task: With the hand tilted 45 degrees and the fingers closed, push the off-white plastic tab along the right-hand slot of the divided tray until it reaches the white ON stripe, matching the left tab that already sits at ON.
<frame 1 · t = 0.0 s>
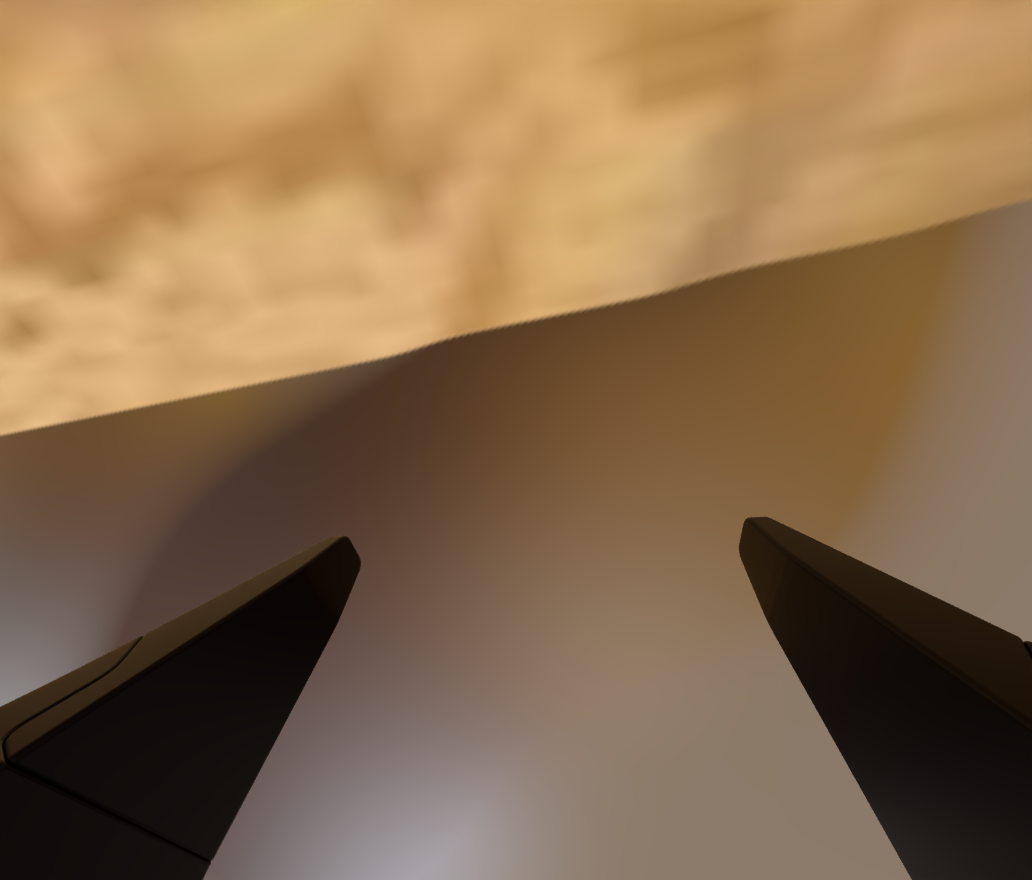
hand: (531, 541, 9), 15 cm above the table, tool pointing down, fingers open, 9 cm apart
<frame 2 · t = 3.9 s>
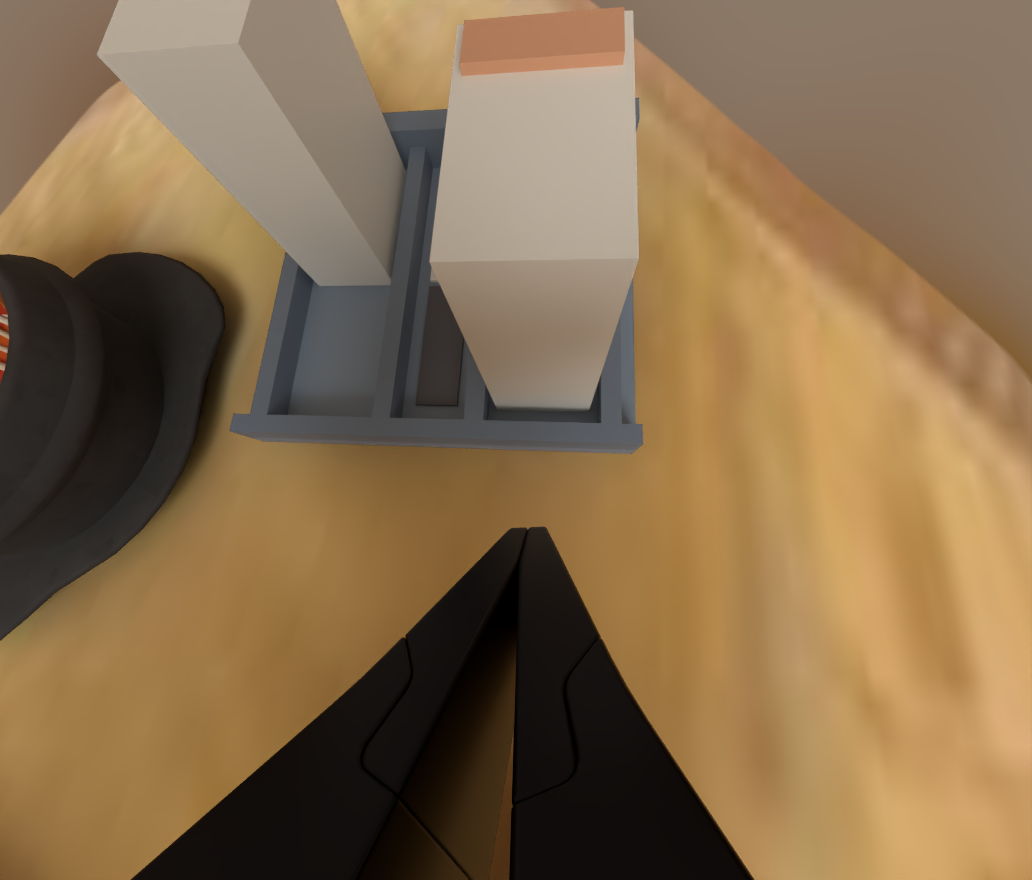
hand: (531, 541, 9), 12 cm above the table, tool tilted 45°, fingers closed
tab 1: (542, 274, 15), point 7 cm above the table, slide at 0.0 cm
tab 2: (305, 136, 18), point 7 cm above the table, slide at 8.0 cm
divided tray: (454, 291, 24), on the table
casserole: (96, 436, 24), on the table
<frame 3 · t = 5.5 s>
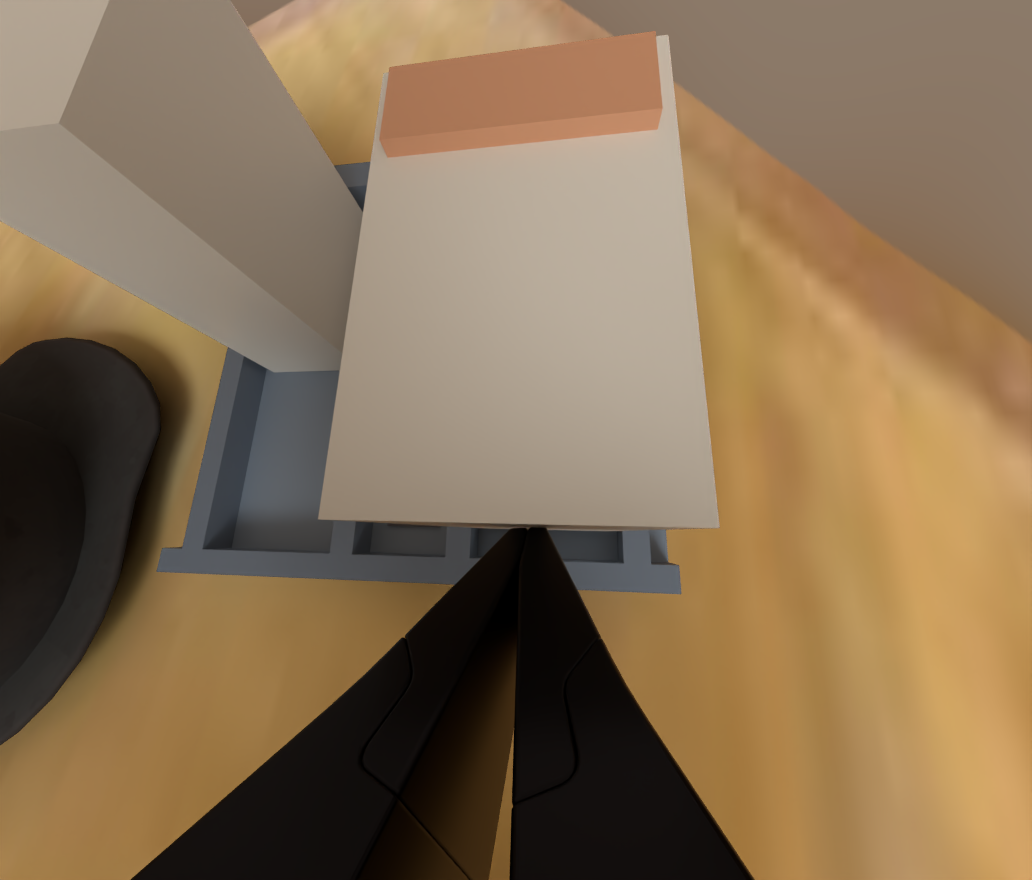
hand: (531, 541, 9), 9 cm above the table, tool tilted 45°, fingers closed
tab 1: (538, 391, 11), point 7 cm above the table, slide at 0.2 cm, touching gripper
tab 2: (232, 210, 15), point 7 cm above the table, slide at 8.0 cm
divided tray: (434, 371, 20), on the table
casserole: (20, 558, 21), on the table
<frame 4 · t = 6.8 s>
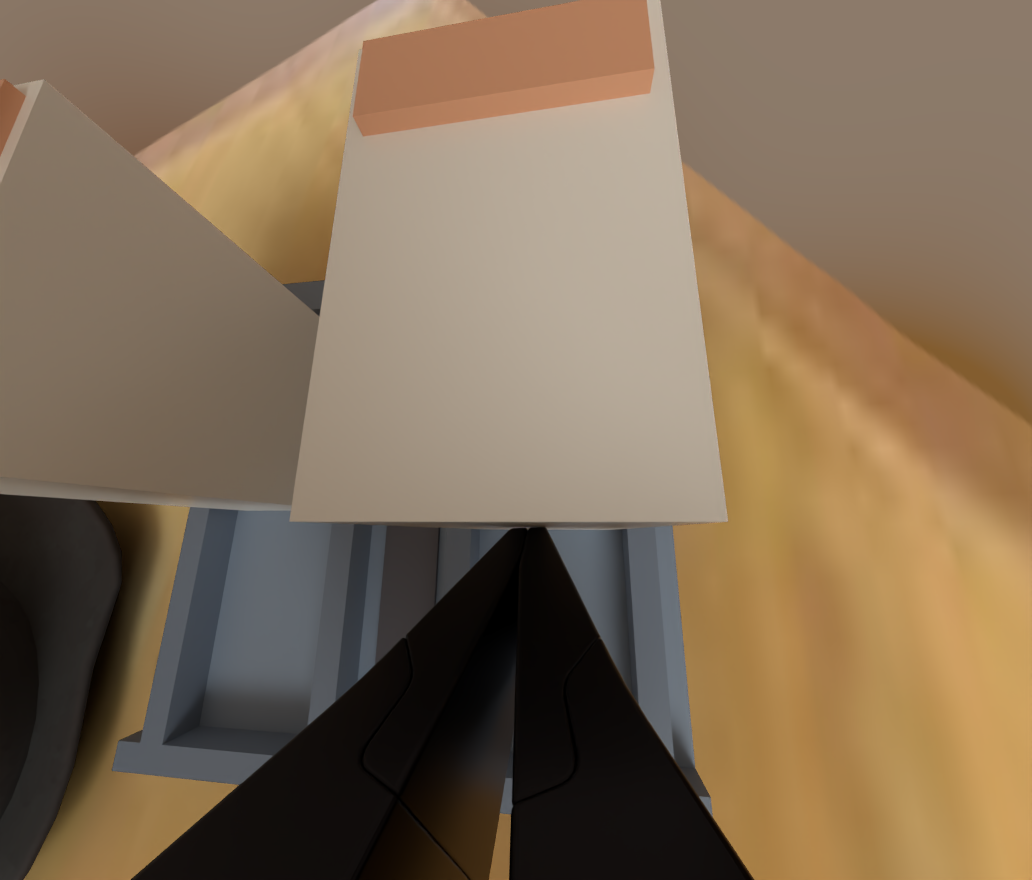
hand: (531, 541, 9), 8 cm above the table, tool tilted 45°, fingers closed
tab 1: (535, 385, 11), point 7 cm above the table, slide at 7.2 cm, touching gripper
tab 2: (181, 380, 13), point 7 cm above the table, slide at 8.0 cm
divided tray: (424, 506, 18), on the table
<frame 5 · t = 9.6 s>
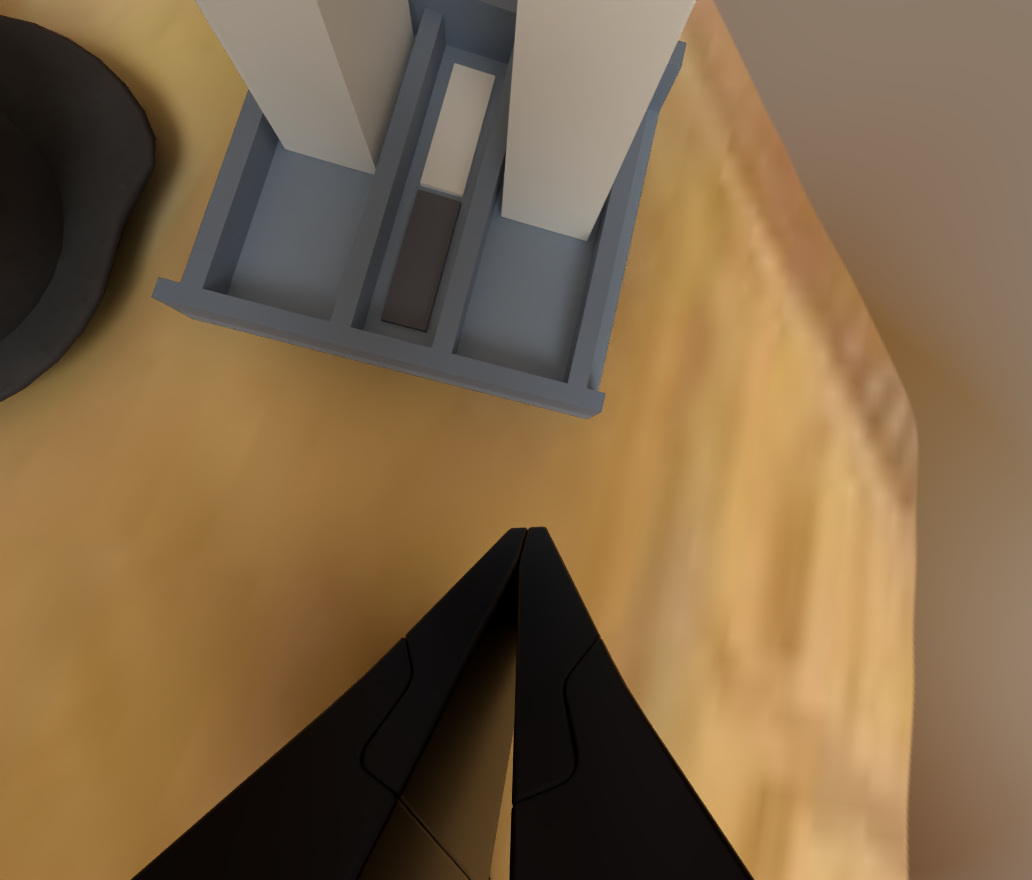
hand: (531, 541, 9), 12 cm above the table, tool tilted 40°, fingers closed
tab 1: (591, 43, 15), point 7 cm above the table, slide at 7.7 cm
divided tray: (443, 203, 22), on the table
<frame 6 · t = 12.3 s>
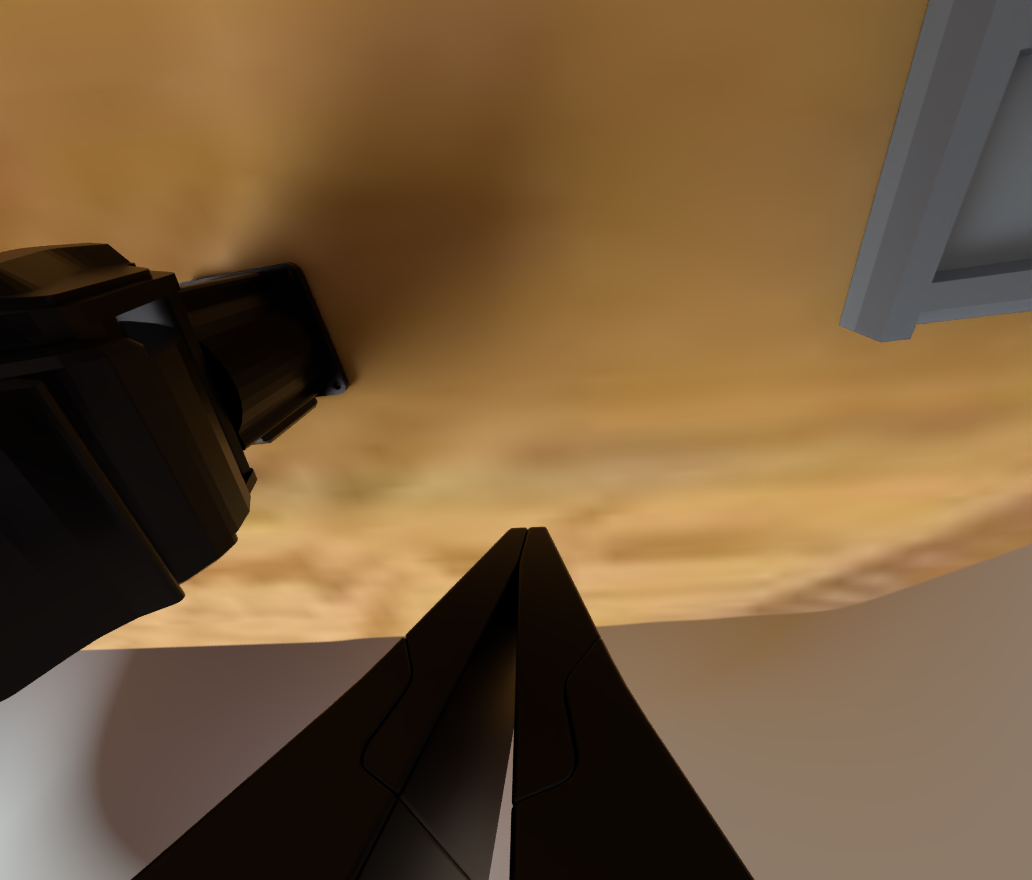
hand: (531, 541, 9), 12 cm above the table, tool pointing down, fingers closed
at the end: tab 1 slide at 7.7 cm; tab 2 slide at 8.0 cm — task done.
